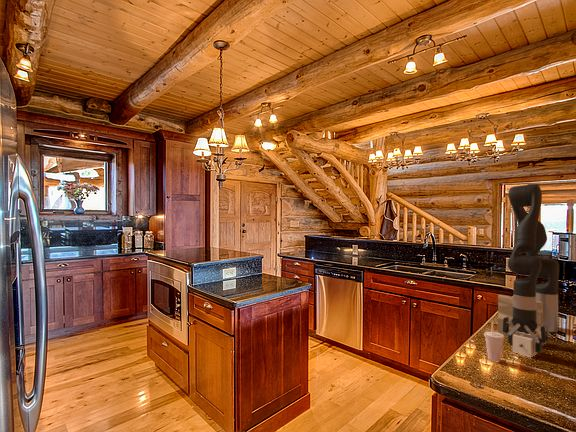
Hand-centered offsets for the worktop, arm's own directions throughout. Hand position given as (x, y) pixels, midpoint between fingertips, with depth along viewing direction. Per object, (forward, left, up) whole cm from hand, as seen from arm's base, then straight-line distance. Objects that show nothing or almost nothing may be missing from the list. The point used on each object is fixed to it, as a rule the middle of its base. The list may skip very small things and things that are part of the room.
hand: (524, 348), depth 125 cm
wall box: (0, 0, -2) cm, 2 cm away
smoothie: (+16, -4, -2) cm, 16 cm away
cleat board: (-14, -7, -2) cm, 16 cm away
